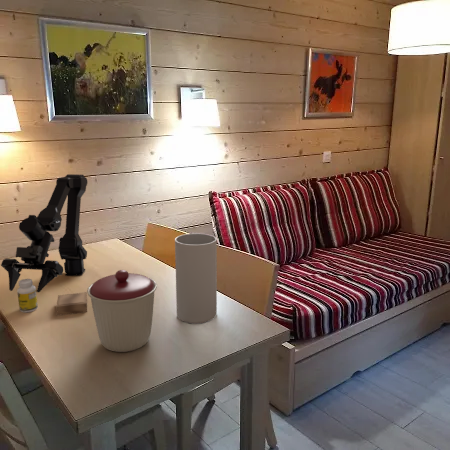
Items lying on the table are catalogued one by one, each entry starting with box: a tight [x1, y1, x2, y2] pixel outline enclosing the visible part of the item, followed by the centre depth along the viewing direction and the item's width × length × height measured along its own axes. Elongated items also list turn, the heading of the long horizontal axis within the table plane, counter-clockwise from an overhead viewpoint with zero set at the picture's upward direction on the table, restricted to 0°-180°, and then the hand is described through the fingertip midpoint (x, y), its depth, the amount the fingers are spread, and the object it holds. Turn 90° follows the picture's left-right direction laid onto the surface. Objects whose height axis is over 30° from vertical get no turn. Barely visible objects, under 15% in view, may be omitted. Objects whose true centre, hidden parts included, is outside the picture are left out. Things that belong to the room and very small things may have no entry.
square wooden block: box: [55, 291, 88, 316], centre depth 138 cm, size 9×9×3 cm
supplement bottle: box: [16, 278, 39, 313], centre depth 136 cm, size 5×5×10 cm
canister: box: [86, 269, 158, 353], centre depth 115 cm, size 18×18×21 cm
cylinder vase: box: [174, 232, 218, 324], centre depth 131 cm, size 12×12×25 cm
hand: (24, 291), depth 135 cm, fingers open, 9 cm apart
